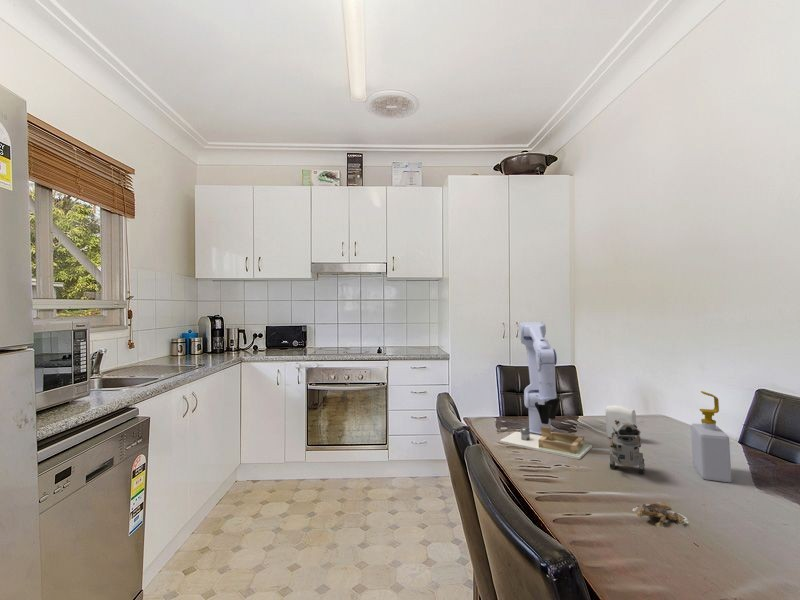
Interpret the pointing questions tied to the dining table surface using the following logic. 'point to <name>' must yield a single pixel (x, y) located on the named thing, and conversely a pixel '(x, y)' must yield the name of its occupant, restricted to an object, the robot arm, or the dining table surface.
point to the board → (535, 444)
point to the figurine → (626, 445)
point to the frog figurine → (660, 513)
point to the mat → (570, 453)
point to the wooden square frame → (559, 446)
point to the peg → (525, 433)
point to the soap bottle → (711, 447)
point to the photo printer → (618, 416)
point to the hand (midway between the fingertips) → (548, 421)
